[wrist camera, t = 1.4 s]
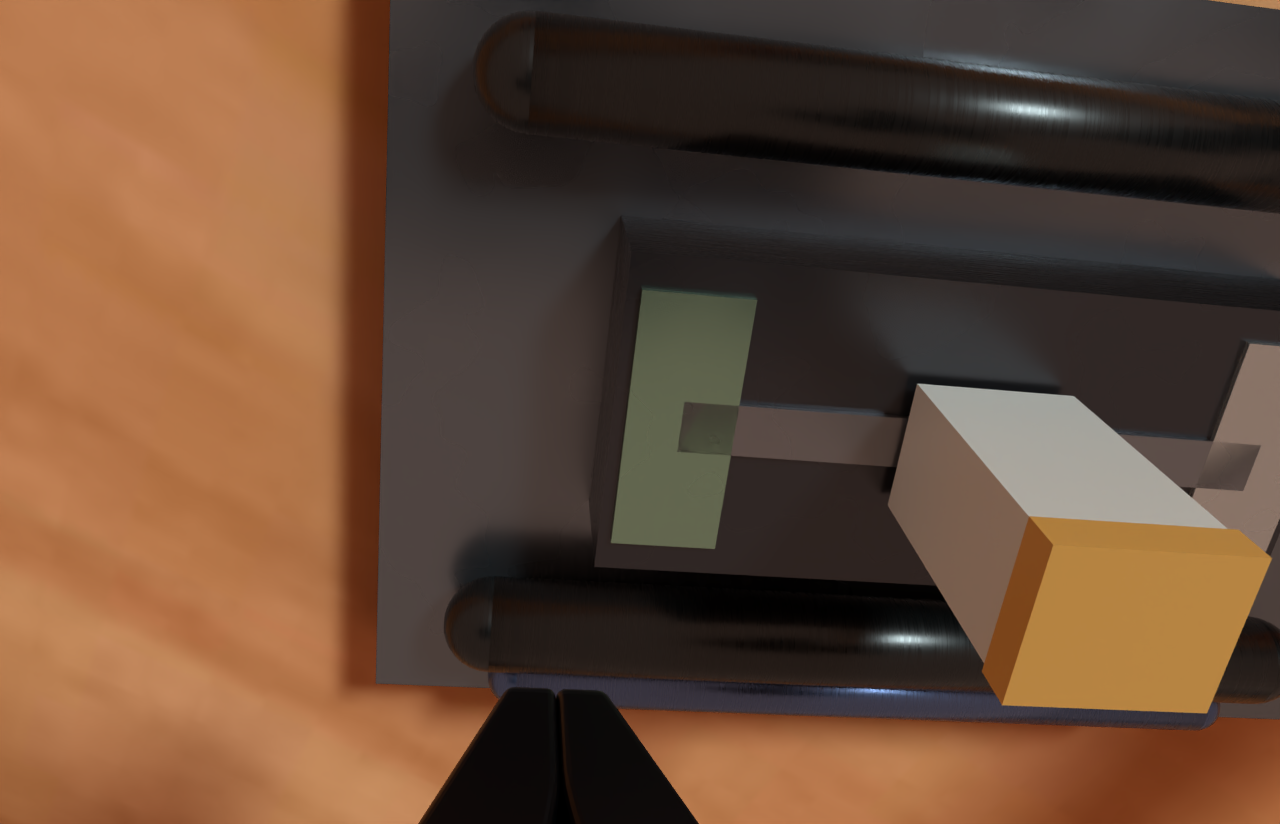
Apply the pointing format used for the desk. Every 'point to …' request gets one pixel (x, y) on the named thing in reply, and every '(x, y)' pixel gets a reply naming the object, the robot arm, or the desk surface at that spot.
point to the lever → (1070, 553)
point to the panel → (551, 237)
